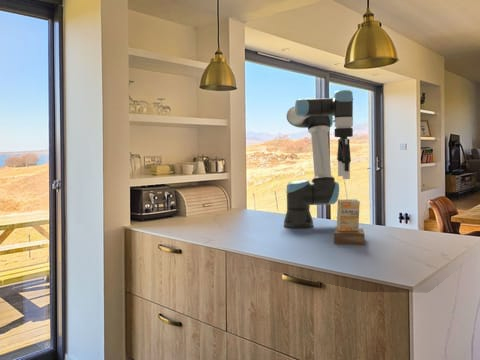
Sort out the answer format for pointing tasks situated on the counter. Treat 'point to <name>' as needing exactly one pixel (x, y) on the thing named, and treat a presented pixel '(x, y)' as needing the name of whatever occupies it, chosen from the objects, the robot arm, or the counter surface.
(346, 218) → the supplement box
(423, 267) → the counter surface
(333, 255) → the counter surface
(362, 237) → the block
